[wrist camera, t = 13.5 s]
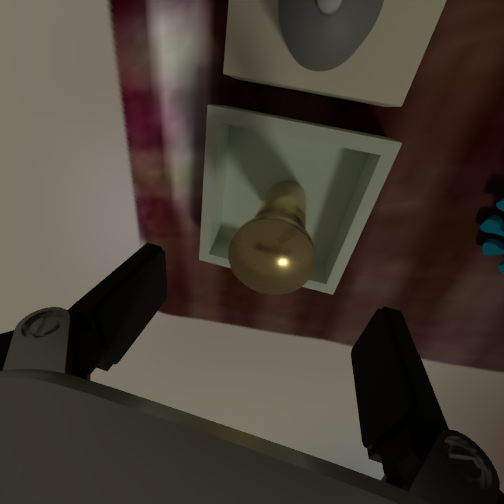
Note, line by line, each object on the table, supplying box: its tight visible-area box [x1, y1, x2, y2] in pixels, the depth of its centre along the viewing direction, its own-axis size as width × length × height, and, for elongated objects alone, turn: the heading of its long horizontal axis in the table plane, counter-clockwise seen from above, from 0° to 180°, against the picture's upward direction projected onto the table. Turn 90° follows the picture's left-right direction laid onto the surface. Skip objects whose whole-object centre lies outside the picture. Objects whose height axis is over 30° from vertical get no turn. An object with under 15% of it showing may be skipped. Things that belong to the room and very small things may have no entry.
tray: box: [199, 105, 402, 294], centre depth 23 cm, size 14×14×4 cm
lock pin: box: [228, 180, 315, 295], centre depth 19 cm, size 5×5×11 cm
